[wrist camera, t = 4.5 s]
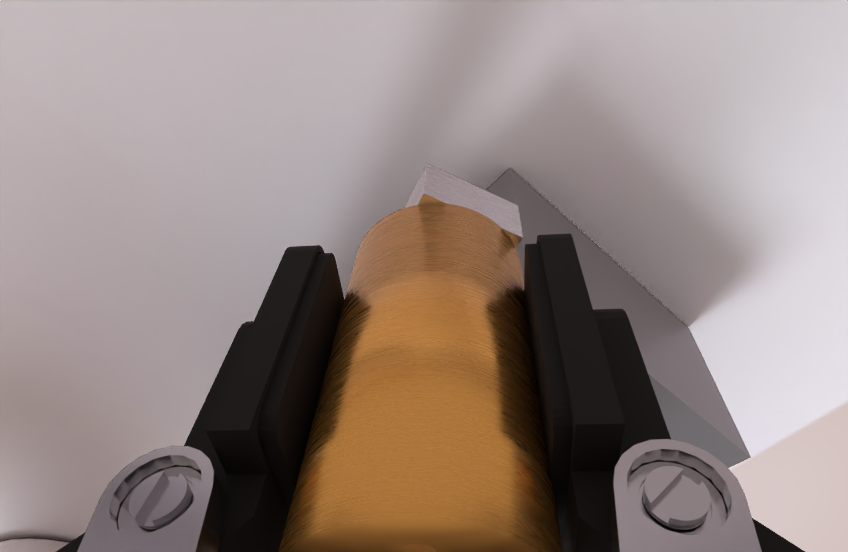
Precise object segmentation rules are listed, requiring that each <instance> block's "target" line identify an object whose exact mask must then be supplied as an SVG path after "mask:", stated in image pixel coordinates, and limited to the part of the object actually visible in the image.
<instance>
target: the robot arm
mask: <svg viewBox="0 0 848 552" xmlns="http://www.w3.org/2000/svg"><path fill="white" fill-rule="evenodd" d="M524 294H525V301H526V308H527V315H528V322H529V329H530V336H531V344H532V351H533V358H534V365H535V372H536V379H537V386H538V394H539V401H540V408H541V415H542V422H543V429H544V436H545V444H546V451H547V458H548V465H549V472H550V479H551V483H552V487H553V491H554V496H555V502H556V509H557V516H558V523H559V530H560V537H561V544H562V551H563V552H805V551H803V550H801V549H800V548H798V547H797V546H795V545H794V544H792V543H790V542H789V541H787V540H786V539H784V538H783V537H781V536H779V535H778V534H776V533H775V532H773V531H772V530H770V529H769V528H767V527H765V526H764V525H762V524H761V523H759V522H758V521H756V520H754V519H753V518H752V517H751V514H750V510H749V507H748V503H747V500H746V497H745V494H744V492H743V490H742V488H741V486H740V484H739V482H738V480H737V478H736V477H735V476H734V474H733V473H732V472H731V471H730V470H729V469H728V468H727V466H726V465H725V464H724V463H723V462H721V461H720V460H718V459H717V458H716V457H714V456H713V455H711V454H710V453H709V452H707V451H705V450H703V449H701V448H698V447H696V446H694V445H692V444H689V443H686V442H681V441H676V440H671V437H670V434H669V431H668V429H667V426H666V423H665V420H664V417H663V414H662V412H661V409H660V406H659V403H658V400H657V397H656V395H655V392H654V389H653V386H652V383H651V380H650V378H649V375H648V372H647V369H646V366H645V363H644V361H643V358H642V355H641V352H640V349H639V346H638V344H637V341H636V338H635V335H634V332H633V329H632V327H631V324H630V321H629V318H628V316H627V314H626V312H625V311H624V310H623V309H594V310H593V308H592V305H591V301H590V297H589V294H588V290H587V287H586V283H585V280H584V276H583V273H582V269H581V266H580V262H579V258H578V255H577V251H576V248H575V244H574V241H573V237H572V235H571V234H570V233H567V234H546V235H538V236H537V243H536V244H525V262H524ZM343 304H344V297H343V292H342V288H341V283H340V278H339V274H338V269H337V265H336V260H335V257H334V255H333V254H332V253H324V251H323V249H322V247H321V246H320V245H318V246H297V247H288V248H287V249H286V251H285V253H284V255H283V257H282V260H281V262H280V264H279V266H278V269H277V271H276V273H275V275H274V278H273V280H272V282H271V284H270V287H269V289H268V291H267V293H266V296H265V298H264V300H263V302H262V305H261V307H260V309H259V311H258V314H257V316H256V318H255V320H254V322H246V323H244V324H242V326H241V327H240V329H239V330H238V332H237V334H236V336H235V338H234V340H233V343H232V345H231V347H230V349H229V351H228V353H227V355H226V357H225V360H224V362H223V364H222V366H221V368H220V370H219V372H218V375H217V377H216V379H215V381H214V383H213V385H212V387H211V389H210V392H209V394H208V396H207V398H206V400H205V402H204V404H203V407H202V409H201V411H200V413H199V415H198V417H197V419H196V421H195V424H194V426H193V428H192V430H191V432H190V434H189V436H188V439H187V441H186V443H185V445H184V446H170V447H166V448H161V449H157V450H154V451H152V452H150V453H148V454H146V455H143V456H141V457H139V458H138V459H136V460H135V461H133V462H132V463H131V464H129V465H128V466H126V467H125V468H124V469H122V470H121V471H120V472H119V474H118V475H117V476H116V477H115V478H114V479H113V480H112V481H111V482H110V483H109V485H108V486H107V488H106V490H105V491H104V493H103V495H102V496H101V498H100V500H99V502H98V505H97V507H96V509H95V512H94V514H93V516H92V519H91V521H90V523H89V525H88V528H87V530H86V532H85V533H84V534H82V535H81V536H79V537H78V538H76V539H74V540H73V541H71V542H70V543H68V542H62V541H55V540H49V539H31V538H28V539H11V540H6V541H1V542H0V552H279V548H280V545H281V541H282V537H283V533H284V529H285V525H286V522H287V518H288V514H289V510H290V506H291V503H292V499H293V495H294V491H295V487H296V484H297V480H298V476H299V472H300V468H301V464H302V461H303V457H304V453H305V449H306V445H307V442H308V438H309V434H310V430H311V426H312V422H313V419H314V415H315V411H316V407H317V403H318V400H319V396H320V392H321V388H322V384H323V381H324V377H325V373H326V369H327V365H328V361H329V358H330V354H331V350H332V346H333V342H334V339H335V335H336V331H337V327H338V323H339V319H340V316H341V312H342V308H343Z"/></svg>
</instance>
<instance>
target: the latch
mask: <svg viewBox="0 0 848 552" xmlns="http://www.w3.org/2000/svg"><path fill="white" fill-rule="evenodd" d="M522 239H523V234H522V227H521V221H520V215H519V209H518V205H516V204H514V203H512V202H509V201H507V200H505V199H503V198H501V197H499V196H496V195H494V194H492V193H490V192H488V191H485V190H483V189H481V188H479V187H477V186H475V185H472V184H470V183H468V182H466V181H464V180H462V179H459V178H457V177H455V176H453V175H451V174H449V173H446V172H444V171H442V170H440V169H438V168H435V167H433V166H431V165H429V164H427V165H426V167H425V169H424V170H423V172H422V174H421V176H420V178H419V180H418V182H417V184H416V186H415V188H414V190H413V192H412V193H411V195H410V197H409V199H408V201H407V203H406V205H405V207H404V209H401V210H398V211H396V212H394V213H392V214H390V215H388V216H387V217H385V218H384V219H382V220H381V221H379V222H378V223H377V224H376V225H375V226H374V227H373V228H372V229H371V230H370V231H369V232H368V233H367V235H366V236H365V237H364V239H363V241H362V242H361V244H360V246H359V249H358V252H357V255H356V258H355V262H354V266H353V270H352V274H351V277H350V281H349V285H348V289H347V293H346V297H345V300H344V304H343V308H342V312H341V316H340V319H339V323H338V327H337V331H336V335H335V339H334V342H333V346H332V350H331V354H330V358H329V361H328V365H327V369H326V373H325V377H324V381H323V384H322V388H321V392H320V396H319V400H318V403H317V407H316V411H315V415H314V419H313V422H312V426H311V430H310V434H309V438H308V442H307V445H306V449H305V453H304V457H303V461H302V464H301V468H300V472H299V476H298V480H297V484H296V487H295V491H294V495H293V499H292V503H291V506H290V510H289V514H288V518H287V522H286V525H285V529H284V533H283V537H282V541H281V545H280V548H279V552H563V551H562V544H561V537H560V530H559V523H558V516H557V509H556V502H555V496H554V491H553V487H552V483H551V479H550V472H549V465H548V458H547V451H546V444H545V436H544V429H543V422H542V415H541V408H540V401H539V394H538V386H537V379H536V372H535V365H534V358H533V351H532V344H531V336H530V329H529V322H528V315H527V308H526V301H525V294H524V282H523V275H522V268H521V262H520V258H519V254H518V252H517V249H516V247H517V246H518V245H519V243H520V242H521V240H522Z"/></svg>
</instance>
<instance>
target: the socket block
mask: <svg viewBox="0 0 848 552" xmlns="http://www.w3.org/2000/svg"><path fill="white" fill-rule="evenodd" d="M486 191H488V192H490V193H492V194H494V195H496V196H499V197H501V198H503V199H505V200H507V201H509V202H512V203H514V204H516V205H518V209H519V215H520V221H521V227H522V234H523V239H522V240H521V242H520V243H519V245H518V246H517V247H516V249H517V252H518V254H519V258H520V262H521V268H522V275H523V282H524V262H525V244H536V243H537V236H538V235H546V234H567V233H570V234H571V235H572V237H573V241H574V244H575V248H576V251H577V255H578V258H579V262H580V266H581V269H582V273H583V276H584V280H585V283H586V287H587V290H588V294H589V297H590V301H591V305H592V308H593V310H594V309H623V310H624V311H625V312H626V314H627V316H628V318H629V321H630V324H631V327H632V329H633V332H634V335H635V338H636V341H637V344H638V346H639V349H640V352H641V355H642V358H643V361H644V363H645V366H646V369H647V372H648V375H649V378H650V380H651V383H652V386H653V389H654V392H655V395H656V397H657V400H658V403H659V406H660V409H661V412H662V414H663V417H664V420H665V423H666V426H667V429H668V431H669V434H670V437H671V440H676V441H681V442H686V443H689V444H692V445H694V446H696V447H698V448H701V449H703V450H705V451H707V452H709V453H710V454H711V455H713V456H714V457H716V458H717V459H718V460H720V461H721V462H723V463H724V464H725V465H726V466H727V468H729V467H731V466H733V465H735V464H737V463H740V462H742V461H744V460H746V459H748V458H750V455H749V452H748V450H747V448H746V446H745V444H744V442H743V440H742V438H741V436H740V434H739V432H738V430H737V427H736V425H735V423H734V421H733V419H732V417H731V415H730V413H729V411H728V409H727V407H726V404H725V402H724V400H723V398H722V396H721V394H720V392H719V390H718V388H717V386H716V384H715V382H714V379H713V377H712V375H711V373H710V371H709V369H708V367H707V365H706V363H705V361H704V359H703V357H702V354H701V352H700V350H699V348H698V346H697V344H696V342H695V340H694V338H693V336H692V334H691V331H690V329H689V328H688V327H687V326H686V325H685V324H684V323H683V322H682V321H681V320H679V319H678V318H677V317H676V316H675V315H674V314H673V313H672V312H670V311H669V310H668V309H667V308H666V307H665V306H664V305H663V304H662V303H660V302H659V301H658V300H657V299H656V298H655V297H654V296H653V295H652V294H650V293H649V292H648V291H647V290H646V289H645V288H644V287H643V286H642V285H640V284H639V283H638V282H637V281H636V280H635V279H634V278H633V277H632V276H630V275H629V274H628V273H627V272H626V271H625V270H624V269H623V268H621V267H620V266H619V265H618V264H617V263H616V262H615V261H614V260H613V259H611V258H610V257H609V256H608V255H607V254H606V253H605V252H604V251H603V250H601V249H600V248H599V247H598V246H597V245H596V244H595V243H594V242H593V241H591V240H590V239H589V238H588V237H587V236H586V235H585V234H584V233H583V232H581V231H580V230H579V229H578V228H577V227H576V226H575V225H574V224H572V223H571V222H570V221H569V220H568V219H567V218H566V217H565V216H564V215H562V214H561V213H560V212H559V211H558V210H557V209H556V208H555V207H554V206H552V205H551V204H550V203H549V202H548V201H547V200H546V199H545V198H544V197H542V196H541V195H540V194H539V193H538V192H537V191H536V190H535V189H534V188H532V187H531V186H530V185H529V184H528V183H527V182H526V181H525V180H523V179H522V178H521V177H520V176H519V175H518V174H517V173H516V172H515V171H513V170H512V169H511V168H509V169H508V170H507V171H506V172H505V173H504V174H503V175H502V176H501V177H500V178H499V179H497V180H496V181H495V182H494V183H493V184H492V185H491V186H490V187H489V188H488V189H487V190H486Z"/></svg>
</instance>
